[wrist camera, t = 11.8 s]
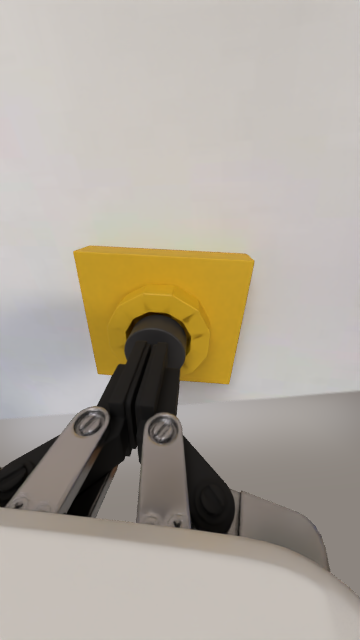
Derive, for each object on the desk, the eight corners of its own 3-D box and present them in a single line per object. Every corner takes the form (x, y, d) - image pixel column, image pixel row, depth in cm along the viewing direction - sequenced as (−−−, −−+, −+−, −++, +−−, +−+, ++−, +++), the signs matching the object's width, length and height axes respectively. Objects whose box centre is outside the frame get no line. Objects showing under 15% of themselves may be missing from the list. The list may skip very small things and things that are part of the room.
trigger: (185, 362, 14) (184, 380, 13) (134, 358, 14) (126, 375, 13) (188, 315, 13) (187, 330, 11) (129, 312, 13) (120, 326, 11)
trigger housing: (225, 366, 19) (232, 402, 15) (107, 357, 19) (87, 390, 16) (246, 253, 14) (263, 268, 11) (88, 245, 14) (54, 257, 11)
